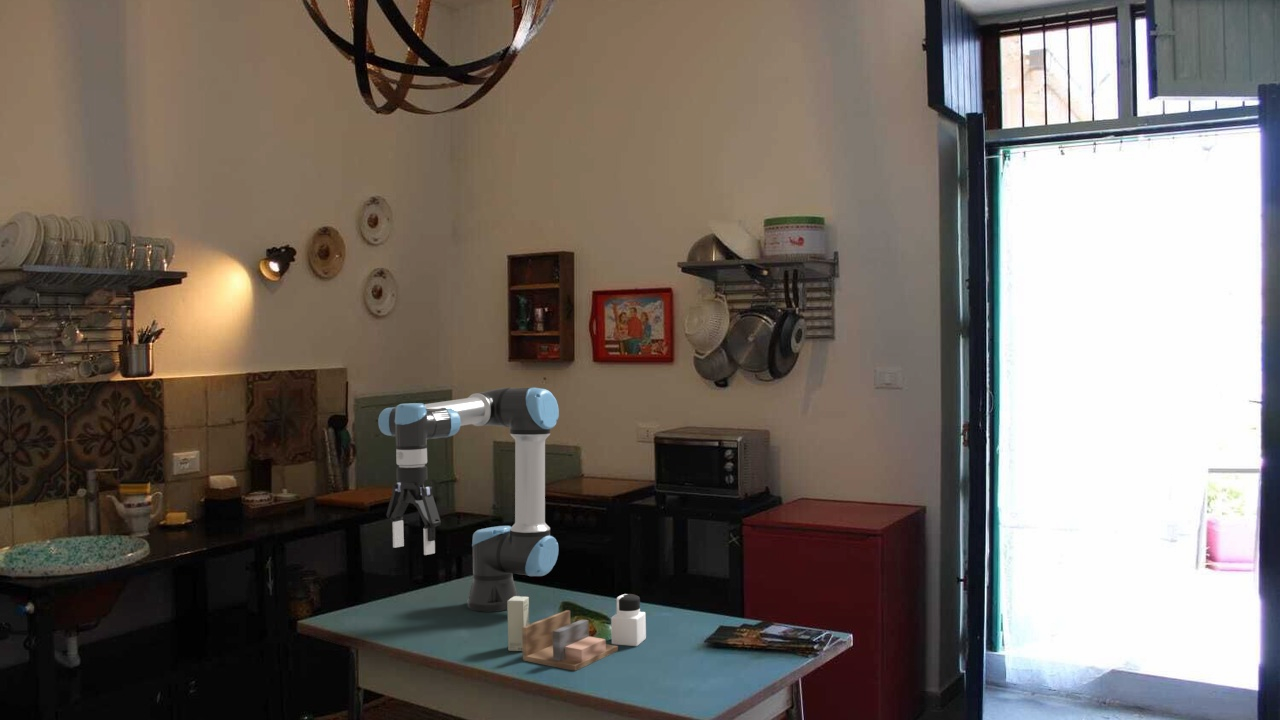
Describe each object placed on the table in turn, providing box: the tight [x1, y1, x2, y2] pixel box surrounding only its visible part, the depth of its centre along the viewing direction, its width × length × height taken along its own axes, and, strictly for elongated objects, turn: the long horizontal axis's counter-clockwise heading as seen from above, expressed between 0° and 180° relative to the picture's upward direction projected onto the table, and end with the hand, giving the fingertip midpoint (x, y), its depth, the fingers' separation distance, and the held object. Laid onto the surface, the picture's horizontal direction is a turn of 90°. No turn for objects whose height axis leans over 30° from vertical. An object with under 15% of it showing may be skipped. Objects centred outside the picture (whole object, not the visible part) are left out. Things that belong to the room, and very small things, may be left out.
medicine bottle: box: [610, 593, 647, 647], centre depth 266 cm, size 7×7×12 cm
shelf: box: [522, 609, 619, 672], centre depth 255 cm, size 18×16×8 cm
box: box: [507, 595, 530, 652], centre depth 261 cm, size 5×4×13 cm
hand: (413, 550), depth 256 cm, fingers open, 13 cm apart
